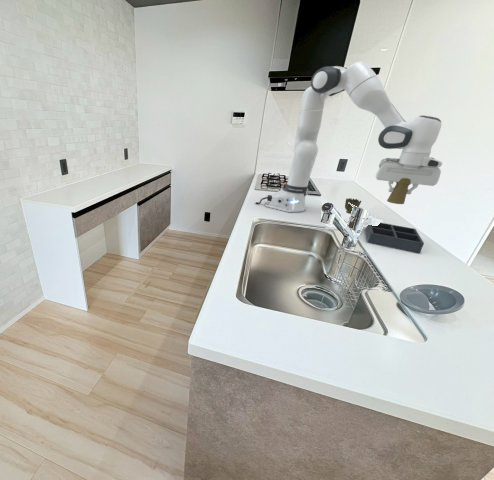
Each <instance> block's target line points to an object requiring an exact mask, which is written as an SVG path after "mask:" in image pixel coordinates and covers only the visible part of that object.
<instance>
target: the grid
mask: <svg viewBox="0 0 494 480" xmlns="http://www.w3.org/2000/svg"><path fill="white" fill-rule="evenodd" d="M365 235H366V240H367V241H366V242H367V243H369V244H374V245H378V246H383V247H388V248H392V249H396V250H402V251H406V252H411V253H416V254H420V252H421V251H422V249H423V247H424V245H425V242H424V241H423V239H422V237H421V236H420V234H419V232H418V231H417V229H416V228H414V227H413V228H412V227H408V226H403V225H402V226H401V225H396V224H390V223H385V222H380V224H379V225H378V226H372V225H368V226H367V225H366V226H365Z"/></svg>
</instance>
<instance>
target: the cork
mask: <svg viewBox="0 0 494 480" xmlns="http://www.w3.org/2000/svg"><path fill="white" fill-rule="evenodd" d="M410 182H411V180H410V179H408V178H402V179H401V180H400V181H399V182H395V186H394V187H393V188H394V190H393V192H390V195H389V196H388V198H387V199H386V202H388V203H391V204H395V205H405V202H406V198H407V194H406V193H407V190H408V189H409V186H410V185H411V184H410Z"/></svg>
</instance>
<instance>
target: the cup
mask: <svg viewBox="0 0 494 480" xmlns="http://www.w3.org/2000/svg"><path fill="white" fill-rule="evenodd" d="M348 202H350V203H351V204H353V205H355V206H357V207H358V208H359V207H360V205H361V204H362V200H359V199H357V198H352V197H349V198H348V197H347V198H345V203H344V209H345V213H346V214H350V215H352V214H351V211H352V208H353V207H352V206H351V205H350V204H348Z"/></svg>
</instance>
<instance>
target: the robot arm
mask: <svg viewBox="0 0 494 480" xmlns="http://www.w3.org/2000/svg"><path fill="white" fill-rule="evenodd" d="M344 91H345V92H346V93H347V95H348V97H349V98H350V100H351V102H352V103H353V104H354V105H355V106H356V107H357V108H359V109H361V110H364V111H367V112H369V113H371V114H373V115H375V116H376V117H377V118H378V120H379V121H380V123H381V124H382V125H383V127H384V129H382V131H380V133H379V135H378V137H377V141H378V145H379V146H380V147H381V148H384V149H387V150H396V149H398V150H401V153H400V155H399V158H394V157H393V158H391V157H386V158H383V159H381V160H380V162H379V164H378V170H377V172H376V174H375V179H376V180H377V181H383V182H384V181H385V182H388V183H387V184H388V187H389V188H388V193H392V192H393V190H394V187H393V186H392V185H393V184H394V183H396V182H399V181H400V180H401V179H402V178H408V179H410V180H411V182H410V185H412V187H411V188H408V190H407V193H406V195H412V192H413V191H414V190H415V189H417V188H418V186H419V185H421V186H430V187H433V186H436V185H437V184H438V182H439V180H440V177H441V174H442V171H441V167H442V165H443V162H442V161H441V160H438V159H436V158H434V157H430V155H431V153H432V148H433V146H434V145H435V143H436V142H437V139H438V136H439V134H440V132H441V128H442V120H441V119H440V118H438V117H435V116H431V115H417V116H416V117H414V118H413V119H410V120H407V121H406V120H405V119H404V118H403V116H402V115H401V114H400V113H399V111H398V110H397V108H395V106H394V104H393V103H392V102H391V100H390V97H389V95H388V94H387V92H386V90H385V87H384V85H383V84H382V81H381V80H380V78H379V77H378V75H377V74H376V72H375V71H374V70H373V68H372V67H370V66H369V65H368V64H367V63H366V62H364V61H362V60H361V61H356V62H353V63H352V64H351V65H348V67H344V66H339V65H335V66H330V65H329V66H323V67H321V68H319V69H317V70H316V71H315V72H314V73H313V75H312V76H311V80H310V86H309V87H307V88H306V89H305V90H304V92H303V94H302V98H301V101H300V104H299V105H300V106H299V111H298V118H297V127H296V133H295V137H294V145H293V158H292V161H291V166H290V169H289V173H288V178H287V182H286V181H285V182H284V183H283V184H282V189H280V190H278V191H277V192H273V194H267V196H265V197H262V198H261V199H260V200H259V202H257V201H256V202H255V204H256V205H261V204H262V201H263V200H266V201H265V204H264V206H265V207H267V208H271V209H274V210H279V211H282V212H287V213H299V212H300V213H301V212H304V211H305V209H306V208H305V207H306V203H305V202H306V196H307V194H308V190H309V182H310V178H311V174H312V171H313V168H314V166H315V163H316V159H317V156H318V154H319V153H318V152H319V146H318V144H317V143H318V138H319V137H318V136H319V133H320V130H321V125H322V119H323V113H324V107H325V102H326V99H327V98H328V97H332V96H335V95H337V94H340V93H342V92H344Z"/></svg>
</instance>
